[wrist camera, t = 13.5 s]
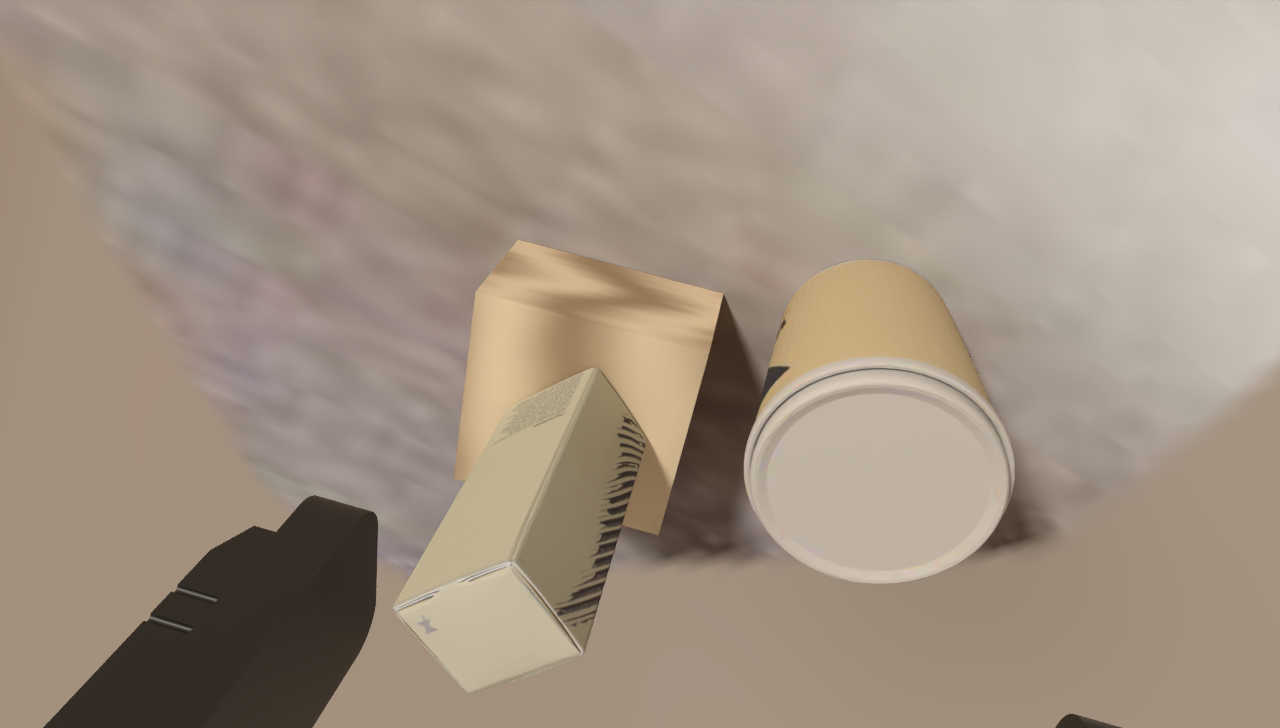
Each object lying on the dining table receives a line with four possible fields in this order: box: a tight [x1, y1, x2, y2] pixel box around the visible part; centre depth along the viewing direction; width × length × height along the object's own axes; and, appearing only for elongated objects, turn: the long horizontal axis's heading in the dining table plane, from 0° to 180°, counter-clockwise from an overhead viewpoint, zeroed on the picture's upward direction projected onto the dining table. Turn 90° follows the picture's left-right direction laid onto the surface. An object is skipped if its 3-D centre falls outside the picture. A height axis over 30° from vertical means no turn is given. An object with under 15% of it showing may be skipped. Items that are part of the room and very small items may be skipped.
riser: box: [454, 240, 723, 536], centre depth 42 cm, size 10×10×6 cm
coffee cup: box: [744, 259, 1015, 584], centre depth 36 cm, size 9×9×12 cm
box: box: [393, 368, 647, 693], centre depth 34 cm, size 5×4×13 cm
